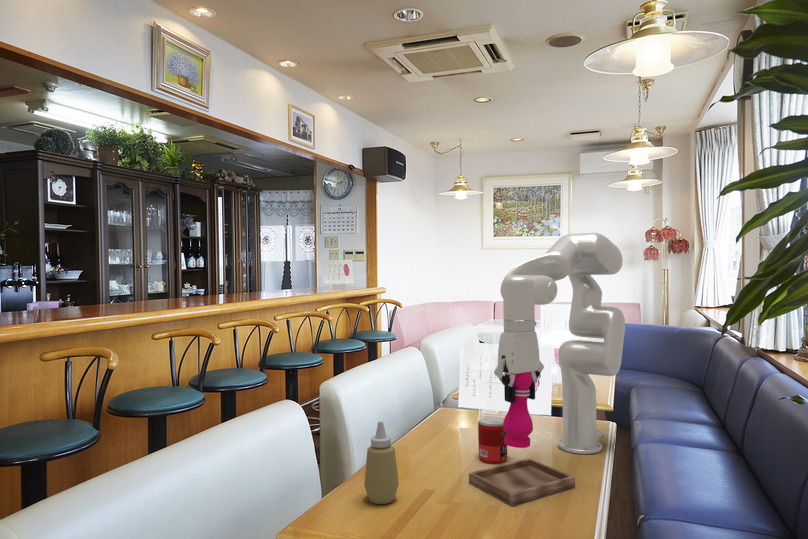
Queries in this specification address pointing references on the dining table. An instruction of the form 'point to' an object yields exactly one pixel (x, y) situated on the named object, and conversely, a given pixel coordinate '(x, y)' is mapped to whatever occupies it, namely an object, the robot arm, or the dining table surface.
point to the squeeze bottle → (381, 468)
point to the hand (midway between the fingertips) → (519, 399)
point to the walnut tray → (521, 481)
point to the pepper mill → (519, 414)
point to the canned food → (491, 440)
